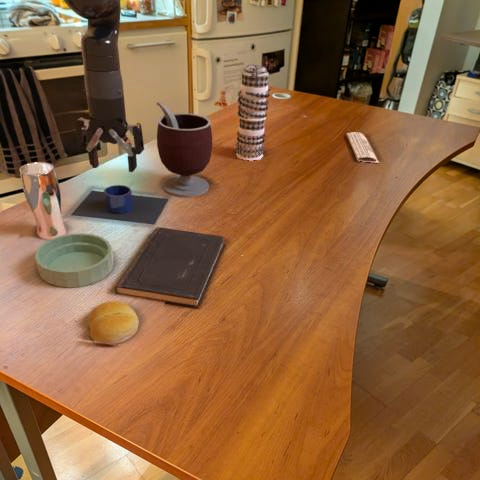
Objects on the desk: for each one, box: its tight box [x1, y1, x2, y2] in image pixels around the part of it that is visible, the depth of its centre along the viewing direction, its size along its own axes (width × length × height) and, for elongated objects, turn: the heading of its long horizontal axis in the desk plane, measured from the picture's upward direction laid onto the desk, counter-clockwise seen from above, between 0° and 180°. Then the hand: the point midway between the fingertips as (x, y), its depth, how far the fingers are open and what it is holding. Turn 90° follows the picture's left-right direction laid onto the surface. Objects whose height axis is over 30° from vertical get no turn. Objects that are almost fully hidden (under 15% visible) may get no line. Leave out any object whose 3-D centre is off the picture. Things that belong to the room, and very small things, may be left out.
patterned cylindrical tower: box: [235, 64, 271, 162], centre depth 136 cm, size 9×9×25 cm
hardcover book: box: [114, 226, 226, 309], centre depth 93 cm, size 16×23×2 cm
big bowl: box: [34, 232, 114, 289], centre depth 91 cm, size 14×14×4 cm
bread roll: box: [87, 300, 140, 345], centre depth 78 cm, size 8×9×4 cm
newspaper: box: [346, 131, 380, 164], centre depth 153 cm, size 24×7×2 cm, turn 178°
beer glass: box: [19, 161, 67, 240], centre depth 97 cm, size 7×7×15 cm
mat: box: [70, 190, 169, 225], centre depth 112 cm, size 20×16×1 cm
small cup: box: [103, 184, 133, 214], centre depth 110 cm, size 6×6×5 cm
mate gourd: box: [156, 101, 213, 198], centre depth 118 cm, size 16×14×20 cm
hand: (113, 168), depth 105 cm, fingers open, 8 cm apart
